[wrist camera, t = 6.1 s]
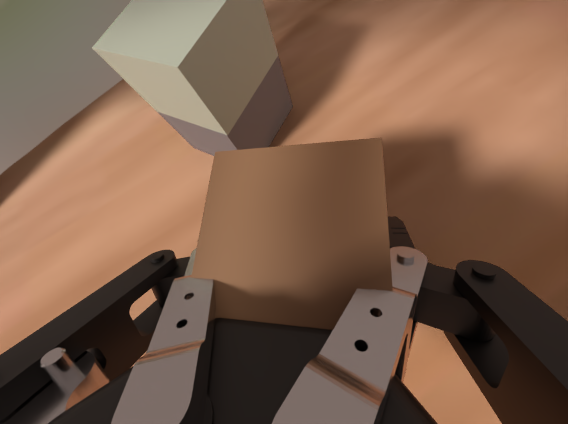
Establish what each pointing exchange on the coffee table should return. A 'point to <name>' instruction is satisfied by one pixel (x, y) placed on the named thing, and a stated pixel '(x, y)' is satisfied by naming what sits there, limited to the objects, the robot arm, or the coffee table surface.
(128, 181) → the coffee table surface
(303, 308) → the walnut block
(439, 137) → the coffee table surface
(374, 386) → the robot arm
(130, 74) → the tower top
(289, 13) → the coffee table surface
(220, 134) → the tower base
